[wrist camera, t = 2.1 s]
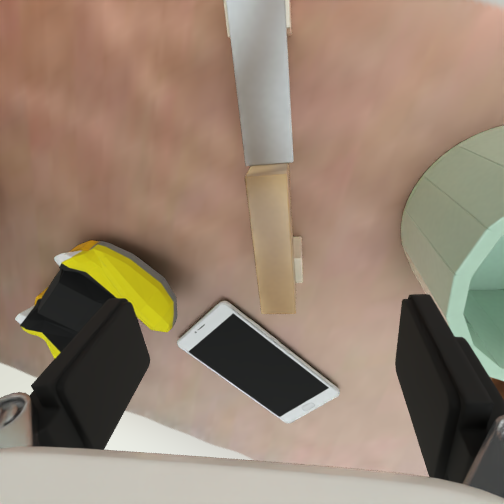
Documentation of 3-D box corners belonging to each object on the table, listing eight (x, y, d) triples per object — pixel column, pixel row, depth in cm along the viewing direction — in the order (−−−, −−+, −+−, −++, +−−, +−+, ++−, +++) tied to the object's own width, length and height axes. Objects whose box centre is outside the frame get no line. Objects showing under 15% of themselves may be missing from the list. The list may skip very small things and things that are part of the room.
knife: (281, -65, 15) (277, -93, 12) (300, 289, 24) (300, 314, 21) (220, -53, 15) (205, -78, 13) (261, 289, 24) (256, 314, 22)
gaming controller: (201, 282, 29) (103, 206, 26) (181, 324, 24) (59, 236, 22) (118, 366, 35) (33, 310, 33) (89, 412, 30) (-13, 351, 28)
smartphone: (287, 425, 35) (173, 344, 31) (287, 420, 35) (175, 340, 32) (343, 394, 32) (222, 300, 28) (342, 389, 32) (224, 296, 29)
